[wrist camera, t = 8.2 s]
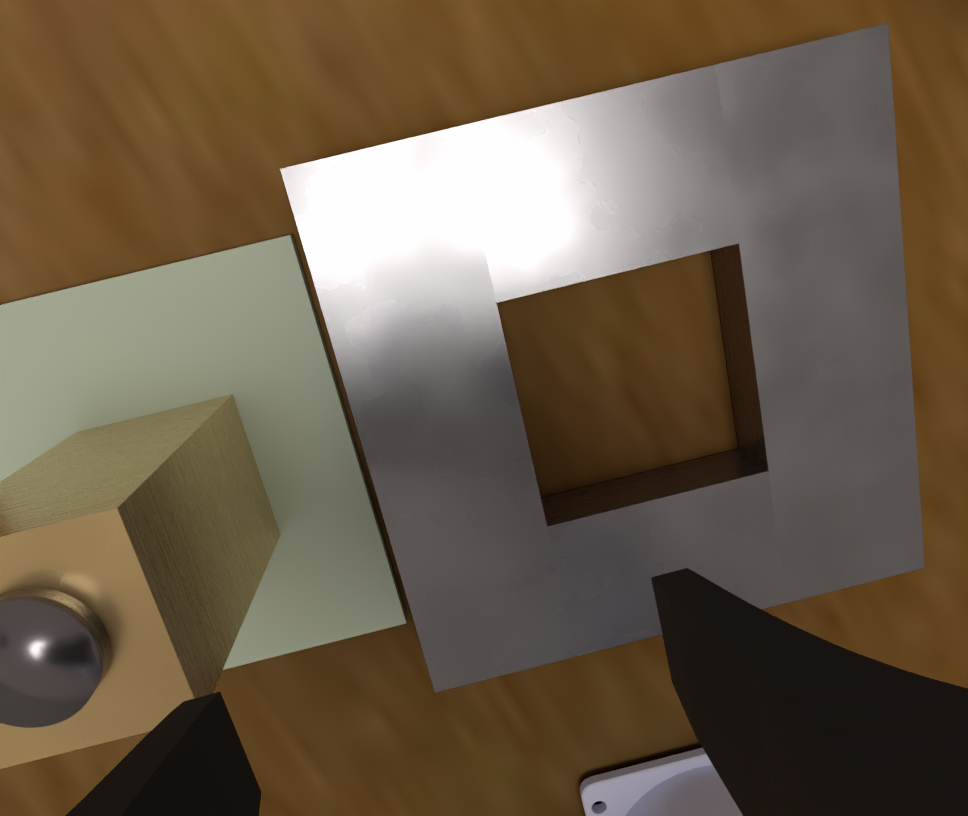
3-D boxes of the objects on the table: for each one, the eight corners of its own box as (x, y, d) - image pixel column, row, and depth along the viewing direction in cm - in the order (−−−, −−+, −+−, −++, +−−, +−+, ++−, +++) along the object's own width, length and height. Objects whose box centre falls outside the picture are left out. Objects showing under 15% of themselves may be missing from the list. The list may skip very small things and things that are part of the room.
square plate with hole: (883, 538, 24) (924, 567, 22) (433, 652, 23) (434, 692, 21) (841, 41, 19) (887, 23, 18) (294, 173, 19) (280, 169, 17)
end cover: (280, 535, 21) (192, 740, 13) (133, 571, 21) (-49, 801, 13) (232, 393, 20) (102, 522, 12) (76, 431, 20) (-164, 587, 12)
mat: (406, 616, 23) (406, 623, 22) (94, 695, 23) (89, 703, 22) (292, 234, 20) (290, 234, 19) (-74, 323, 19) (-84, 325, 19)
